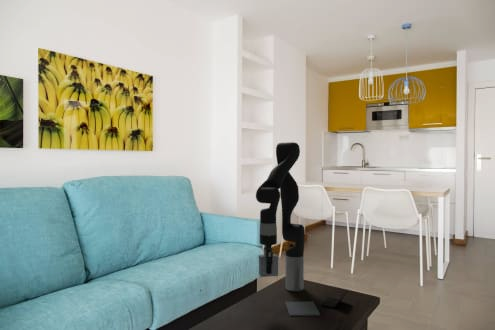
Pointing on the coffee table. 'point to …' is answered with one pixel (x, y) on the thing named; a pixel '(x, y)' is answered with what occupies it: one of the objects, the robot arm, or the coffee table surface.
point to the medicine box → (263, 266)
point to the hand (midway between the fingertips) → (268, 271)
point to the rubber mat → (302, 309)
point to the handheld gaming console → (332, 302)
